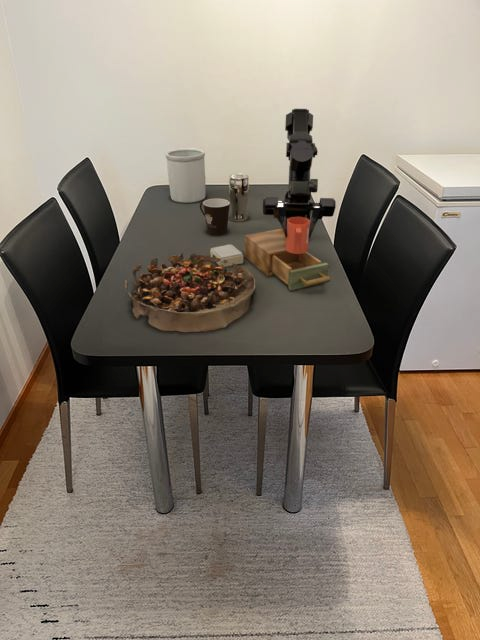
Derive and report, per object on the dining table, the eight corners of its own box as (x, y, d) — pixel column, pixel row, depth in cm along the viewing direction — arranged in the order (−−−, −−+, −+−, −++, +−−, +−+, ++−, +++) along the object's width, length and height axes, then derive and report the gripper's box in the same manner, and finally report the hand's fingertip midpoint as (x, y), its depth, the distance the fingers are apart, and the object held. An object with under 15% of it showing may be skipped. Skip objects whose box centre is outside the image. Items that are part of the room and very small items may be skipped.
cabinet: (306, 267, 144) (307, 245, 140) (267, 276, 139) (268, 253, 135) (280, 249, 155) (281, 228, 151) (244, 256, 150) (244, 235, 146)
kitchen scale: (231, 253, 152) (231, 243, 151) (243, 263, 146) (243, 253, 145) (209, 257, 150) (209, 248, 148) (220, 267, 144) (220, 258, 142)
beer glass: (246, 222, 174) (247, 179, 167) (227, 221, 176) (226, 178, 168) (250, 215, 180) (250, 173, 172) (231, 214, 181) (231, 172, 174)
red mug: (285, 244, 136) (287, 216, 132) (307, 245, 136) (309, 217, 132) (285, 257, 129) (287, 228, 125) (308, 258, 129) (310, 228, 125)
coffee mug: (233, 235, 165) (233, 205, 159) (208, 238, 162) (207, 208, 157) (222, 223, 174) (221, 194, 169) (198, 226, 172) (197, 197, 166)
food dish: (141, 268, 145) (139, 243, 141) (255, 271, 145) (256, 246, 141) (110, 330, 115) (106, 299, 111) (254, 334, 114) (256, 304, 110)
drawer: (335, 288, 131) (337, 270, 128) (299, 297, 127) (300, 278, 124) (300, 262, 145) (301, 245, 142) (266, 270, 140) (266, 252, 138)
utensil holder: (164, 202, 193) (160, 156, 183) (174, 191, 205) (170, 146, 196) (202, 204, 191) (200, 157, 182) (209, 192, 203) (208, 148, 194)
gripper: (264, 165, 127) (261, 223, 123) (338, 167, 125) (338, 225, 122) (264, 187, 138) (261, 240, 134) (333, 188, 136) (332, 242, 133)
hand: (297, 236), depth 130 cm, fingers closed on red mug, 6 cm apart
